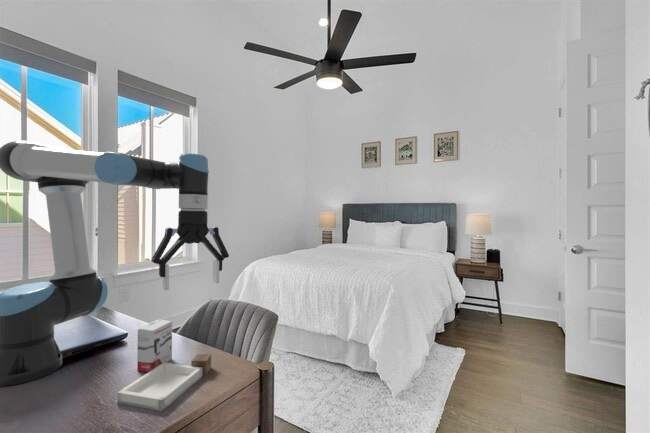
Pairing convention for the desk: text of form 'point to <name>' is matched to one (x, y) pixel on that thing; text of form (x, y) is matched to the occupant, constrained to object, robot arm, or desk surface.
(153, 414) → the desk surface
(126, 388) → the parts tray
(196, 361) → the block
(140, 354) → the ink box
